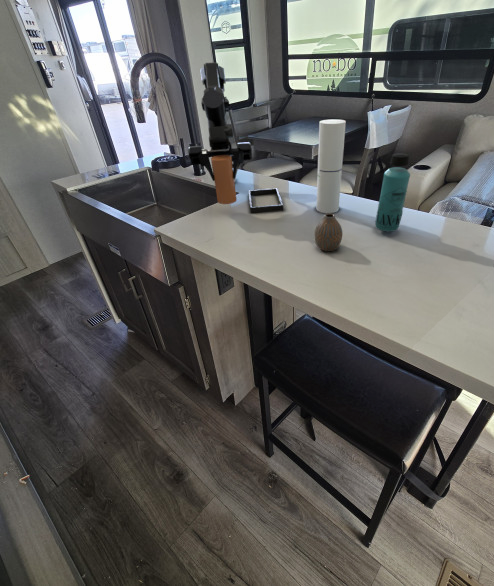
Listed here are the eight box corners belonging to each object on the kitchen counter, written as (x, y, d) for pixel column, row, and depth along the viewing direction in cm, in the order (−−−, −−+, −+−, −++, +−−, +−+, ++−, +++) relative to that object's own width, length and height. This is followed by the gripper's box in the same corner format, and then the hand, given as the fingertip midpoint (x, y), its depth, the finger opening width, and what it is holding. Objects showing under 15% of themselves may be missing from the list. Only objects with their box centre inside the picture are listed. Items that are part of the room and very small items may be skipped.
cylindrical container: (328, 215, 96) (333, 124, 81) (311, 209, 101) (314, 122, 86) (343, 208, 100) (351, 120, 85) (326, 203, 104) (331, 118, 89)
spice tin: (222, 196, 102) (216, 154, 94) (239, 197, 101) (234, 155, 93) (214, 203, 97) (207, 160, 90) (232, 204, 96) (226, 160, 88)
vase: (325, 238, 84) (327, 207, 79) (346, 246, 80) (350, 214, 75) (308, 248, 80) (309, 216, 75) (329, 257, 76) (332, 223, 71)
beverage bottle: (369, 229, 87) (380, 153, 75) (387, 224, 89) (401, 149, 77) (384, 238, 83) (399, 159, 70) (403, 233, 85) (421, 155, 73)
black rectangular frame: (248, 195, 113) (248, 190, 112) (277, 193, 114) (277, 188, 113) (250, 213, 100) (250, 207, 99) (283, 210, 101) (283, 205, 100)
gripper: (181, 115, 87) (186, 167, 85) (248, 111, 89) (254, 162, 87) (189, 140, 98) (194, 187, 96) (248, 136, 100) (254, 181, 98)
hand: (223, 179), depth 94 cm, fingers closed on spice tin, 6 cm apart
